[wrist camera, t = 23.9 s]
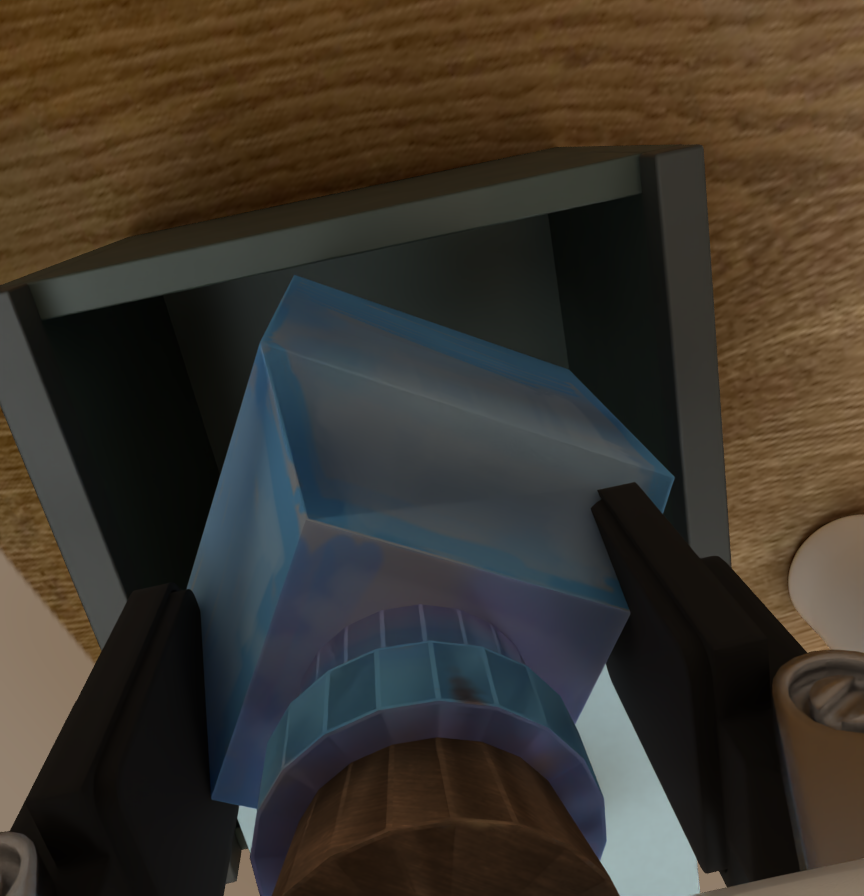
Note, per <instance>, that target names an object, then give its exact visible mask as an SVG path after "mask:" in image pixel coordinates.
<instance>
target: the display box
mask: <svg viewBox="0 0 864 896" xmlns="http://www.w3.org/2000/svg"><path fill="white" fill-rule="evenodd" d="M294 275H296V276H299V277H302V278H305V279H308V280H311V281H314V282H317V283H320V284H322V285H325V286H328V287H331V288H334V289H337V290H340V291H343V292H346V293H348V294H351V295H354V296H357V297H360V298H363V299H366V300H369V301H372V302H375V303H377V304H380V305H383V306H386V307H389V308H392V309H395V310H398V311H401V312H403V313H406V314H409V315H412V316H415V317H418V318H421V319H424V320H427V321H430V322H432V323H435V324H438V325H441V326H444V327H447V328H450V329H453V330H456V331H458V332H461V333H464V334H467V335H470V336H473V337H476V338H479V339H482V340H484V341H487V342H490V343H493V344H496V345H499V346H502V347H505V348H508V349H511V350H513V351H516V352H519V353H522V354H525V355H528V356H531V357H534V358H537V359H539V360H542V361H545V362H548V363H551V364H554V365H557V366H560V367H563V368H566V369H568V370H570V371H571V372H572V373H573V374H574V375H575V376H576V377H577V378H578V379H579V380H580V381H581V382H582V383H583V384H584V385H585V386H586V387H587V388H588V389H589V390H590V392H591V393H592V394H593V395H594V396H595V397H596V398H597V399H598V400H599V401H600V402H601V403H602V404H603V405H604V406H605V407H606V408H607V409H608V410H609V411H610V412H611V413H612V414H613V415H614V416H615V417H616V418H617V419H618V420H619V421H620V422H621V423H622V424H623V425H624V426H625V427H626V428H627V429H628V430H629V431H630V432H631V433H632V434H633V435H634V436H635V437H636V438H637V439H638V440H639V441H640V442H641V443H642V444H643V445H644V446H645V447H646V448H647V449H648V450H649V451H650V452H651V453H652V455H653V456H654V457H655V458H656V459H657V460H658V461H659V462H660V463H661V464H662V465H663V466H664V467H665V468H666V469H667V470H668V471H669V472H670V473H671V474H672V475H673V476H674V477H675V478H674V481H673V484H672V488H671V491H670V494H669V497H668V500H667V503H666V506H665V509H664V512H663V515H664V516H665V517H666V518H667V520H668V521H669V522H670V523H671V524H672V526H673V527H674V528H675V529H676V530H677V531H678V533H679V534H680V535H681V536H682V537H683V539H684V540H685V541H686V542H687V543H688V545H689V546H690V547H691V548H692V549H693V550H694V552H695V553H696V554H697V555H698V556H699V558H705V557H710V556H719V557H721V558H722V559H723V560H724V561H725V562H726V563H727V564H728V565H729V566H730V567H731V553H730V538H729V523H728V508H727V493H726V478H725V463H724V448H723V433H722V418H721V403H720V388H719V373H718V358H717V344H716V329H715V314H714V299H713V284H712V269H711V254H710V239H709V224H708V209H707V194H706V179H705V164H704V149H703V146H702V145H699V144H696V145H635V146H588V147H555V148H550V149H545V150H541V151H536V152H531V153H526V154H522V155H517V156H512V157H507V158H503V159H498V160H493V161H488V162H484V163H479V164H474V165H469V166H465V167H460V168H455V169H450V170H446V171H441V172H436V173H431V174H427V175H422V176H417V177H412V178H408V179H403V180H398V181H393V182H389V183H384V184H379V185H374V186H369V187H365V188H360V189H355V190H350V191H346V192H341V193H336V194H331V195H327V196H322V197H317V198H312V199H308V200H303V201H298V202H293V203H289V204H284V205H279V206H274V207H270V208H265V209H260V210H255V211H251V212H246V213H241V214H236V215H232V216H227V217H222V218H217V219H213V220H208V221H203V222H198V223H194V224H189V225H184V226H179V227H175V228H170V229H165V230H160V231H156V232H151V233H146V234H141V235H137V236H132V237H127V238H125V239H122V240H119V241H117V242H114V243H112V244H109V245H106V246H104V247H101V248H98V249H96V250H93V251H90V252H88V253H85V254H82V255H80V256H77V257H74V258H72V259H69V260H66V261H64V262H61V263H58V264H56V265H53V266H51V267H48V268H45V269H43V270H40V271H37V272H35V273H32V274H29V275H27V276H24V277H21V278H19V279H16V280H13V281H11V282H8V283H5V284H3V285H0V406H1V408H2V411H3V413H4V416H5V418H6V421H7V423H8V425H9V428H10V430H11V433H12V435H13V437H14V440H15V442H16V445H17V447H18V450H19V452H20V454H21V457H22V459H23V462H24V464H25V467H26V469H27V471H28V474H29V476H30V479H31V481H32V484H33V486H34V488H35V491H36V493H37V496H38V498H39V501H40V503H41V505H42V508H43V510H44V513H45V515H46V518H47V520H48V522H49V525H50V527H51V530H52V532H53V534H54V537H55V539H56V542H57V544H58V547H59V549H60V551H61V554H62V556H63V559H64V561H65V564H66V566H67V568H68V571H69V573H70V576H71V578H72V581H73V583H74V585H75V588H76V590H77V593H78V595H79V598H80V600H81V602H82V605H83V607H84V610H85V612H86V614H87V617H88V619H89V622H90V624H91V627H92V629H93V631H94V634H95V636H96V639H97V641H98V644H99V646H100V648H101V651H102V650H103V648H104V646H105V644H106V642H107V640H108V638H109V636H110V634H111V632H112V630H113V628H114V626H115V624H116V622H117V620H118V618H119V616H120V614H121V612H122V610H123V608H124V606H125V604H126V602H127V600H128V598H129V596H130V594H131V593H132V592H133V591H135V590H139V589H144V588H149V587H153V586H158V585H162V584H167V583H172V582H174V583H175V584H177V585H178V587H179V588H180V590H181V591H182V590H186V589H187V586H188V582H189V579H190V576H191V572H192V569H193V566H194V562H195V559H196V555H197V552H198V549H199V545H200V542H201V539H202V535H203V532H204V529H205V525H206V522H207V519H208V515H209V512H210V508H211V505H212V502H213V498H214V495H215V492H216V488H217V485H218V482H219V478H220V475H221V472H222V468H223V465H224V461H225V458H226V455H227V451H228V448H229V445H230V441H231V438H232V435H233V431H234V428H235V425H236V421H237V418H238V414H239V411H240V408H241V404H242V401H243V398H244V394H245V391H246V388H247V384H248V381H249V378H250V374H251V371H252V367H253V364H254V361H255V357H256V354H257V351H258V347H259V344H260V341H261V339H262V337H263V335H264V333H265V331H266V329H267V327H268V325H269V323H270V321H271V319H272V318H273V316H274V314H275V312H276V310H277V308H278V306H279V304H280V302H281V300H282V298H283V296H284V294H285V292H286V290H287V288H288V286H289V284H290V282H291V280H292V278H293V276H294ZM243 849H248V846H247V843H246V841H245V838H244V835H243V832H242V830H241V827H240V824H239V822H238V819H237V822H236V828H235V834H234V839H233V845H232V850H231V856H230V862H229V867H228V873H227V879H226V884H227V883H231V882H235V881H237V876H238V869H239V863H240V857H241V850H243Z"/></svg>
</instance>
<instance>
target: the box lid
mask: <svg viewBox="0 0 864 896" xmlns="http://www.w3.org/2000/svg"><path fill="white" fill-rule="evenodd" d="M575 726H576V728H577V730H578V732H579V734H580V737H581V740H582V742H583V745H584V747H585V750H586V753H587V755H588V758H589V760H590V763H591V766H592V768H593V771H594V773H595V776H596V779H597V781H598V784H599V786H600V789H601V792H602V794H603V797H604V802H605V819H606V837H607V842H606V845H605V848H604V851H603V854H602V857H601V860H600V862H601V864H602V865H603V867H604V868H605V870H606V871H607V873H608V875H609V876H610V878H611V880H612V882H613V883H614V885H615V887H616V889H617V891H618V893H619V895H620V896H690V895H695V894H699V893H700V886H699V876H698V868H697V867H698V866H697V859H696V857H695V854H694V852H693V850H692V848H691V846H690V844H689V842H688V840H687V838H686V836H685V834H684V832H683V830H682V827H681V825H680V823H679V821H678V819H677V817H676V815H675V813H674V811H673V809H672V807H671V805H670V802H669V800H668V798H667V796H666V794H665V792H664V790H663V788H662V786H661V784H660V782H659V780H658V777H657V775H656V773H655V771H654V769H653V767H652V765H651V763H650V761H649V759H648V757H647V755H646V753H645V750H644V748H643V746H642V744H641V742H640V740H639V738H638V736H637V734H636V732H635V730H634V728H633V725H632V723H631V721H630V719H629V717H628V715H627V713H626V711H625V709H624V707H623V705H622V703H621V701H620V698H619V696H618V694H617V692H616V690H615V688H614V686H613V684H612V682H611V679H610V676H609V673H608V670H607V666H606V664H605V666H604V668H603V670H602V672H601V674H600V676H599V678H598V680H597V682H596V684H595V686H594V688H593V690H592V692H591V694H590V696H589V698H588V700H587V702H586V704H585V706H584V708H583V710H582V712H581V714H580V716H579V718H578V720H577V722H576V724H575ZM256 813H257V809H254V808H249V807H245V806H240V805H239V811H238V817H237V819H238V822H239V824H240V827H241V830H242V832H243V835H244V838H245V841H246V843H247V846H248V849H249V851H250V853H251V847H252V840H253V833H254V827H255V820H256Z"/></svg>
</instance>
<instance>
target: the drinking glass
mask: <svg viewBox="0 0 864 896" xmlns="http://www.w3.org/2000/svg"><path fill="white" fill-rule="evenodd" d="M788 589H789V594H790V598H791V601H792V603H793V605H794V607H795V609H796V610H797V612H798V613H799V614H800V616H801V617H802V618H803V619H804V620H805V621H806V622H807V623H808V625H809V626H810V627H811V628H812V629H813V630H814V631H815V632H816V633H817V634H818V635H819V636H820V637H821V638H822V640H823V641H824V642H825V643H826V645H827V646H828V647H829V648H830V650H833V649H835V650H848V651H858V652H862V653H864V514H862V515H851V516H846V517H842V518H839V519H836V520H834V521H832V522H830V523H828V524H826V525H824V526H822V527H821V528H819V529H818V530H817V531H815V532H814V533H813V534H812V535H811V536H810V537H809V538H808V539H807V540H806V541H805V542H804V543H803V544H802V545H801V547H800V548H799V550H798V551H797V553H796V555H795V557H794V559H793V561H792V564H791V567H790V570H789V576H788Z"/></svg>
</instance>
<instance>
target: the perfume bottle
mask: <svg viewBox="0 0 864 896" xmlns="http://www.w3.org/2000/svg"><path fill="white" fill-rule="evenodd" d="M674 478H675V477H674V476H673V475H672V474H671V473H670V472H669V471H668V470H667V469H666V468H665V467H664V466H663V465H662V464H661V463H660V462H659V461H658V460H657V459H656V458H655V457H654V456H653V455H652V453H651V452H650V451H649V450H648V449H647V448H646V447H645V446H644V445H643V444H642V443H641V442H640V441H639V440H638V439H637V438H636V437H635V436H634V435H633V434H632V433H631V432H630V431H629V430H628V429H627V428H626V427H625V426H624V425H623V424H622V423H621V422H620V421H619V420H618V419H617V418H616V417H615V416H614V415H613V414H612V413H611V412H610V411H609V410H608V409H607V408H606V407H605V406H604V405H603V404H602V403H601V402H600V401H599V400H598V399H597V398H596V397H595V396H594V395H593V394H592V393H591V392H590V390H589V389H588V388H587V387H586V386H585V385H584V384H583V383H582V382H581V381H580V380H579V379H578V378H577V377H576V376H575V375H574V374H573V373H572V372H571V371H570V370H568V369H566V368H563V367H560V366H557V365H554V364H551V363H548V362H545V361H542V360H539V359H537V358H534V357H531V356H528V355H525V354H522V353H519V352H516V351H513V350H511V349H508V348H505V347H502V346H499V345H496V344H493V343H490V342H487V341H484V340H482V339H479V338H476V337H473V336H470V335H467V334H464V333H461V332H458V331H456V330H453V329H450V328H447V327H444V326H441V325H438V324H435V323H432V322H430V321H427V320H424V319H421V318H418V317H415V316H412V315H409V314H406V313H403V312H401V311H398V310H395V309H392V308H389V307H386V306H383V305H380V304H377V303H375V302H372V301H369V300H366V299H363V298H360V297H357V296H354V295H351V294H348V293H346V292H343V291H340V290H337V289H334V288H331V287H328V286H325V285H322V284H320V283H317V282H314V281H311V280H308V279H305V278H302V277H299V276H296V275H294V276H293V278H292V280H291V282H290V284H289V286H288V288H287V290H286V292H285V294H284V296H283V298H282V300H281V302H280V304H279V306H278V308H277V310H276V312H275V314H274V316H273V318H272V319H271V321H270V323H269V325H268V327H267V329H266V331H265V333H264V335H263V337H262V339H261V341H260V344H259V347H258V351H257V354H256V357H255V361H254V364H253V367H252V371H251V374H250V378H249V381H248V384H247V388H246V391H245V394H244V398H243V401H242V404H241V408H240V411H239V414H238V418H237V421H236V425H235V428H234V431H233V435H232V438H231V441H230V445H229V448H228V451H227V455H226V458H225V461H224V465H223V468H222V472H221V475H220V478H219V482H218V485H217V488H216V492H215V495H214V498H213V502H212V505H211V508H210V512H209V515H208V519H207V522H206V525H205V529H204V532H203V535H202V539H201V542H200V545H199V549H198V552H197V555H196V559H195V562H194V566H193V569H192V572H191V576H190V579H189V582H188V586H187V589H190V590H192V592H193V593H194V595H195V598H196V600H197V603H198V606H199V609H200V613H201V630H202V648H203V665H204V683H205V700H206V718H207V735H208V753H209V770H210V788H211V799H212V800H216V801H220V802H225V803H230V804H235V805H240V806H245V807H249V808H254V809H257V813H256V820H255V827H254V833H253V840H252V847H251V853H250V860H251V864H252V868H253V871H254V875H255V879H256V883H257V886H258V890H259V893H260V896H620V895H619V893H618V891H617V889H616V887H615V885H614V883H613V882H612V880H611V878H610V876H609V875H608V873H607V871H606V870H605V868H604V867H603V865H602V864H601V862H600V860H601V857H602V854H603V851H604V848H605V845H606V842H607V837H606V819H605V802H604V797H603V794H602V792H601V789H600V786H599V784H598V781H597V779H596V776H595V773H594V771H593V768H592V766H591V763H590V760H589V758H588V755H587V753H586V750H585V747H584V745H583V742H582V740H581V737H580V734H579V732H578V730H577V728H576V726H575V724H576V722H577V720H578V718H579V716H580V714H581V712H582V710H583V708H584V706H585V704H586V702H587V700H588V698H589V696H590V694H591V692H592V690H593V688H594V686H595V684H596V682H597V680H598V678H599V676H600V674H601V672H602V670H603V668H604V666H605V664H606V662H607V660H608V658H609V656H610V654H611V652H612V650H613V648H614V646H615V644H616V642H617V640H618V638H619V636H620V634H621V632H622V630H623V628H624V626H625V624H626V622H627V620H628V618H629V616H630V610H629V607H628V605H627V602H626V600H625V597H624V594H623V592H622V589H621V587H620V584H619V581H618V579H617V576H616V574H615V571H614V568H613V566H612V563H611V561H610V558H609V555H608V553H607V550H606V548H605V545H604V542H603V540H602V537H601V534H600V532H599V529H598V527H597V524H596V521H595V519H594V516H593V514H592V511H591V508H592V506H593V505H594V504H595V503H596V502H598V501H600V500H601V498H600V496H599V494H598V491H597V490H600V489H604V488H609V487H613V486H618V485H623V484H627V483H632V482H635V483H637V484H638V485H639V486H640V488H641V489H642V490H643V491H644V492H645V494H646V495H647V496H648V497H649V498H650V499H651V501H652V502H653V503H654V504H655V505H656V507H657V508H658V509H659V510H660V511H661V513H662V514H663V512H664V509H665V506H666V503H667V500H668V497H669V494H670V491H671V488H672V484H673V481H674Z"/></svg>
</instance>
